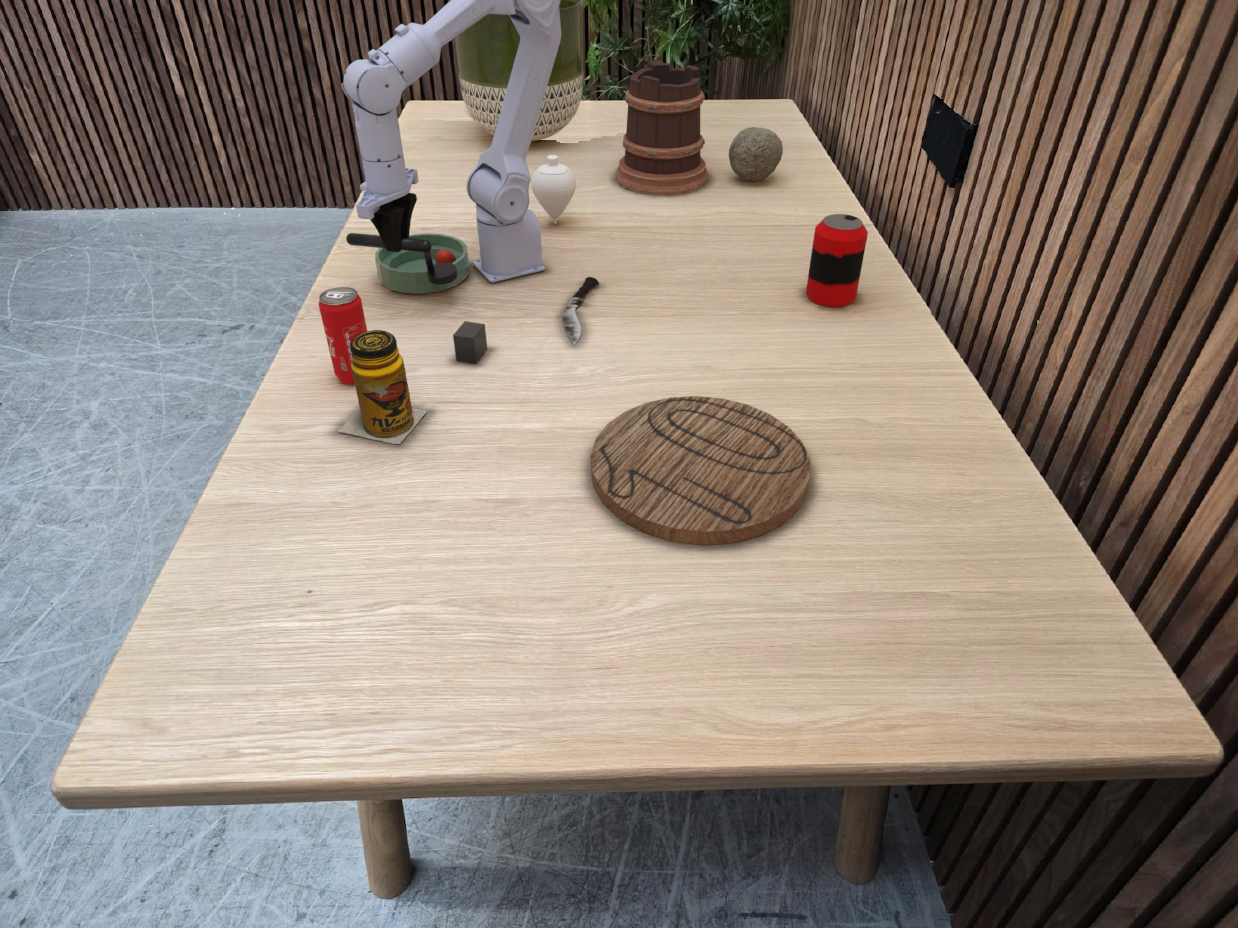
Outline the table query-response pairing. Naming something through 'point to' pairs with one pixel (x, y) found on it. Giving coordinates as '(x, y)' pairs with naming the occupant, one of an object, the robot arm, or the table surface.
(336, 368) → the beverage can
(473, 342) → the dark grey cube
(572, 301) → the knife
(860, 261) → the soda can
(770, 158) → the decorative stone
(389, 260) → the bowl
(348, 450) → the table surface
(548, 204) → the spinning top
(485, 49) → the planter
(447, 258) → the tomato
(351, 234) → the crank handle
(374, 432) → the condiment
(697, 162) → the brown wooden barrel
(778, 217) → the table surface
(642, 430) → the trivet
